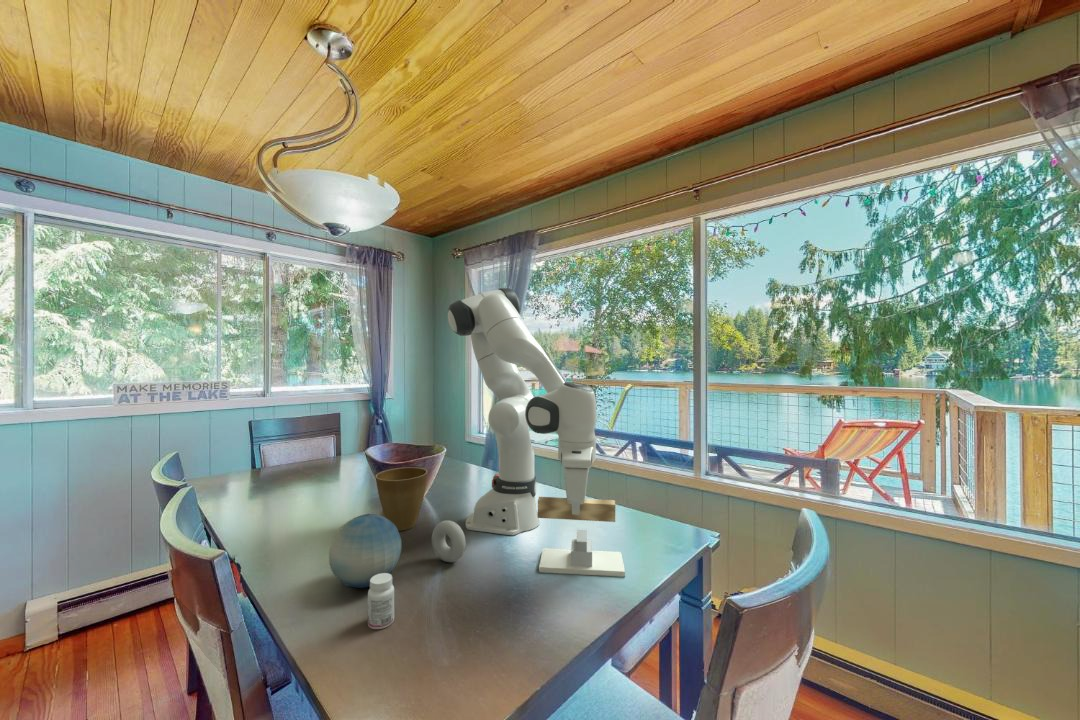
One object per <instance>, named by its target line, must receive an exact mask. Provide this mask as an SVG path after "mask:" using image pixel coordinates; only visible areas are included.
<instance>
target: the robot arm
mask: <svg viewBox="0 0 1080 720" xmlns="http://www.w3.org/2000/svg"><path fill="white" fill-rule="evenodd" d="M520 313H521V303H520V299H519V297H518V295H517V293H516V292H515V290H513V289H512V288H508V287H507V288H506V287H501V288H498V289H494V290H489V291H488V290H487V291H483V292H480V293H478V294H474V295H472V296H468V297H466V298H464V299H461V300H460V299H458V300H457V301H454V302H452V303H451V304H449V307H448V308H447V320H448V325H449V326H450V328H451V329H452V330H453V332H454V333H455V334H456V335H458V336H460V337H461V336H462V337H463V336H470V340H471V345H472V350H473V353H474V357H475V359H476V362H477V365H478V367H479V370H480V372H481V375H482V377H483V380H484V383H485V385H486V387H487V388H488V389H489V391H491V392H492V393H493V395H494V396H495V397H496V399H497V400H498V402H496V403H495V404H494V405H493V406H492V407H491V408H490V411H489V414H488V424H489V427H490V428H491V429H492V430H493V432H494V436H495V440H496V441H495V443H496V444H497V445H496V446H497V452H498V453H497V454H498V455H497V456H498V473H496V474H495V475H494V476H492V480H491V489H490V490H489V491H487V492H486V493H485V494H483V495H482V496H480V498H479V499H477V500H476V503H475V505H474V508H473V512H472V513H471V514H469V516H468V517H467V518H466V520H465V528H466V530H469V531H476V532H484V533H492V534H499V535H500V534H501V535H507V536H515V535H518V534H520V533H522V532H526V531H531V530H533V529H536V528H537V527H538V526H540V523H541V522H540V518H538V508H537V502H536V494H537V478H536V475H535V458H536V457H535V454H536V453H535V449H534V448H533V446H532V440H531V437H530V435H531V434H530V429H531V431H532V432H534V433H536V434H541V435H548V434H552V433H553V434H554V433H555V434H557V435H558V436H557V437H558V446H557V447H558V449H557V453H558V454H557V457H558V460H560V462H561V467H562V468H563V471H564V481H565V482H564V484H565V495H566V498H567V502H568V503H569V504H572V514H573V515H579V514H580V504H583V503H584V500H585V499H586V494H587V486H588V477H589V475H588V474H589V471H590V469H591V468H592V464H593V463H594V461H596V459H597V453H596V452H597V437H596V433H595V427H596V425H597V402H596V395H595V391H594V389H593V388H592V386H590V385H588V384H585V383H582V382H581V383H580V382H573V381H567V380H566V378H565V377H564V375H563V374H562V372H561V371H560V370H559V368H558V367H557V365H556V364H555V362H554V361H553V359H552V358H551V356H550V355H549V353H548V352H547V351H546V349H544V348H543V347H542V346H541V344H540V343H539V342H538V341H537V340H536V338H535V337H534V336H533V334H532V333H531V332H530V329H528V326H527V325H526V323H525V322H524V320H523V318H522V316H521V315H520ZM518 367H521V368H523V369H526V370H527V371H529V372H531V373H532V374H533V375H534V376H535V377H536V379H537V380H538V382H539V383H540V385H541V386H542V387H543V389H544V391H545V392H546V393H544V394H541V395H537V396H534V395H533V392H532V391H531V389H530V387H529V386H528V384H527V382H526V381H525V380H524V378H523V376H522V374H521V372H520V370H519V368H518Z"/></svg>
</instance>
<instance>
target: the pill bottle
mask: <svg viewBox="0 0 1080 720" xmlns="http://www.w3.org/2000/svg"><path fill="white" fill-rule="evenodd" d="M394 621H395V586H394V585H393V575H392V574H391V573H390V574H389V573H381V574H377V575H375V576H373V577H372V578H371V579H370V586H369V589H368V591H367V625H368V627H369V628H370V629H373V630H382V629H385V628H388V627H389V626H390V625H392V624H393V622H394Z"/></svg>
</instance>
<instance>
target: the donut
mask: <svg viewBox="0 0 1080 720" xmlns="http://www.w3.org/2000/svg"><path fill="white" fill-rule="evenodd" d="M446 536H448V537H449V539H450V540H451V541H450V542H451V547H450V546H449V545H448V544H447V541H446ZM466 543H467V542H466V536H465V533H464V531H463V529H462V527H461V526H460V525H459V524H458V523H457V522H455V521H453V520H442V521H440V522H439V523H437V524H436V526H435V527H434V529H433V531H432V534H431V545H432V549H433V551H434V553H435V554H436V556H437V557H438V558H439V559H440V560H441V561H443V562H445V563H454V562H457V561H458V560H459V559H461V557H462V556H463V555H464V553H465V550H466Z"/></svg>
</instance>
